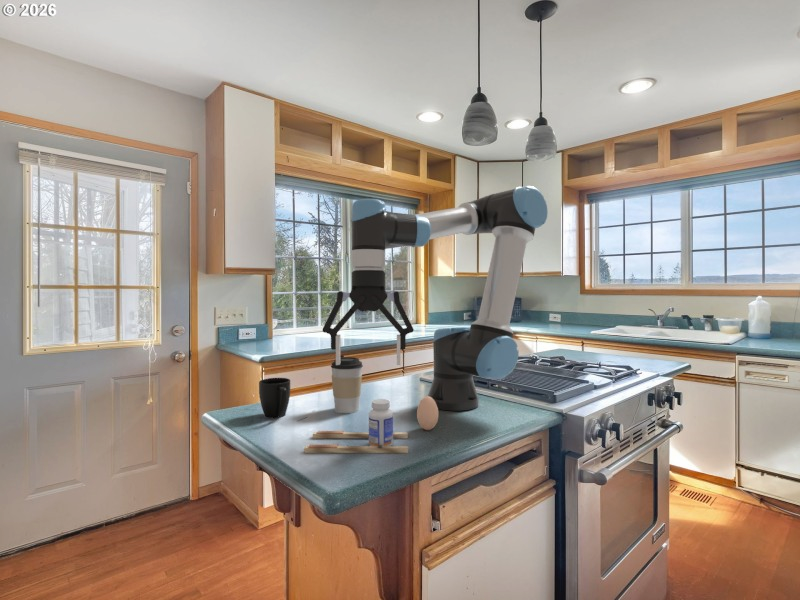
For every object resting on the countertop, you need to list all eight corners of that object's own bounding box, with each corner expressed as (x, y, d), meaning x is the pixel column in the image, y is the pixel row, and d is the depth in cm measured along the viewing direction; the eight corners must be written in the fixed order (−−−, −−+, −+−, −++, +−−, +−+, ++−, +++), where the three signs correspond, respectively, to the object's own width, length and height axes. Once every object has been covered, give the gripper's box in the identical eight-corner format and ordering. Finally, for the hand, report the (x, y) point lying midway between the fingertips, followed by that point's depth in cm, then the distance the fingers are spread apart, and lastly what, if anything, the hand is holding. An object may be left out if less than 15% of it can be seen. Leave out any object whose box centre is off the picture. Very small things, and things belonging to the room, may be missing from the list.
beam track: (407, 436, 100) (407, 431, 100) (408, 452, 90) (408, 446, 90) (313, 436, 100) (313, 430, 100) (304, 452, 90) (304, 446, 90)
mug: (267, 425, 108) (266, 388, 108) (256, 413, 118) (255, 379, 118) (298, 420, 112) (298, 384, 112) (285, 409, 122) (285, 376, 122)
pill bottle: (391, 439, 98) (391, 397, 98) (394, 448, 93) (394, 403, 92) (368, 440, 97) (368, 398, 97) (369, 449, 92) (369, 404, 92)
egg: (412, 428, 106) (412, 395, 105) (428, 424, 109) (428, 392, 108) (426, 434, 101) (426, 400, 101) (442, 430, 105) (442, 396, 104)
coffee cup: (324, 412, 120) (324, 358, 119) (341, 404, 128) (340, 354, 128) (353, 415, 116) (353, 361, 116) (368, 407, 125) (368, 356, 124)
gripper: (422, 270, 100) (422, 361, 101) (315, 270, 99) (315, 361, 100) (425, 269, 93) (425, 366, 93) (309, 268, 92) (309, 367, 92)
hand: (368, 364), depth 96 cm, fingers open, 13 cm apart
